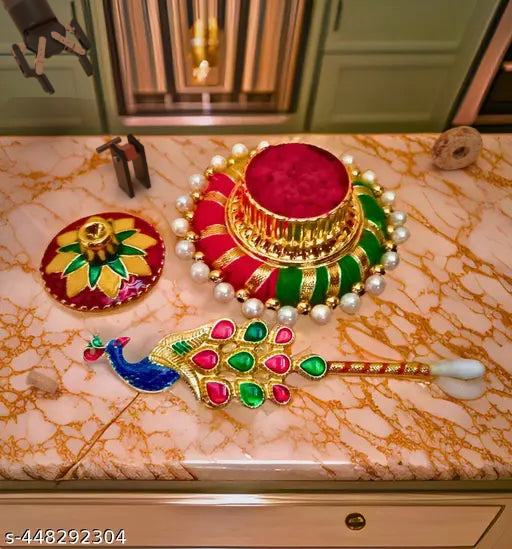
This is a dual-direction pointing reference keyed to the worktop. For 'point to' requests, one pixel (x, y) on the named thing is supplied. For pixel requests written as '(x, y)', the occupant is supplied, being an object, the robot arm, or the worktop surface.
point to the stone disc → (457, 148)
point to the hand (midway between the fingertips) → (72, 84)
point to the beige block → (47, 382)
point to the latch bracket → (123, 167)
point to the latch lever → (126, 148)
